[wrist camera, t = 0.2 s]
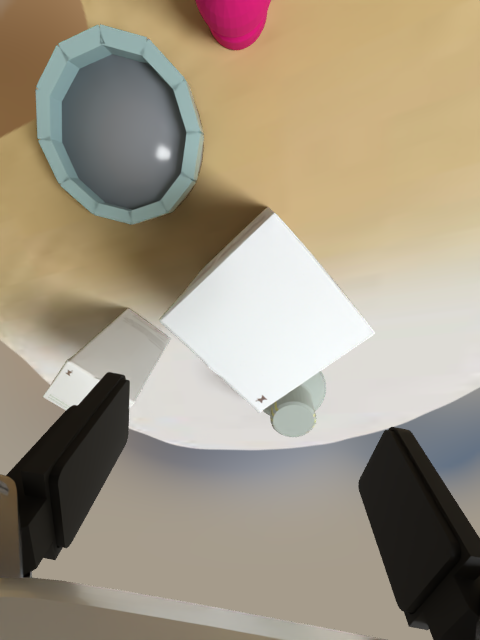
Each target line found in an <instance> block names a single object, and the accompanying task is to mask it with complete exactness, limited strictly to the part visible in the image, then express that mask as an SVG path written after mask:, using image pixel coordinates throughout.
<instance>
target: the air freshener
mask: <svg viewBox="0 0 480 640" xmlns="http://www.w3.org/2000/svg"><path fill="white" fill-rule="evenodd" d="M325 393H326V383H325V379H324V376H323V374H322V373H321V371H320V372H318V373H317V374H315V375H314V376H312V377H311V378H309V379H308V380H307V381H305V382H304V383H302V384H301V385H299V386H298V387H296V388H295V389H293V390H292V391H290V392H289V393H287V394H286V395H284V396H283V397H282V398H280V399H279V400H277V401H276V402H274V403H273V404H271V405H270V406H268V407H267V408H265V409H264V410H263V411H264V412H265V413H266V414H268V415H270V418H271V424H272V426H273V428H274V429H275V430H276V431H277V432H278V433H280V434H282V435H284V436H288V437H299V436H302V435H305V434H307V433H308V432H309V431H310V430H312V429H313V427H314V425H315V423H316V414H315V411H316V410H317V409H318V408H319V407H320V405H321V404H322V402H323V400H324V397H325Z"/></svg>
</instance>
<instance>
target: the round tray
mask: <svg viewBox="0 0 480 640" xmlns="http://www.w3.org/2000/svg"><path fill="white" fill-rule="evenodd" d="M36 87H37V88H38V89H39V90H37V89H36V111H37V137H38V139H41V140H38V141H39V144H40V146H41V148H42V150H43V152H44V154H45V156H46V158H47V160H48V162H49V164H50V166H51V169H52V171H53V173H54V175H55V177H56V179H57V181H58V183H59V184H61V185H60V186H61V187H62V188H63V189H65V190H66V191H67V192H68V193H69V194H70V195H71V196H73V197H74V198H75V199H76V200H77V201H78V202H79V203H81V204H82V205H83V206H84V207H85V208H86V209H87V210H89V211H90V212H91V213H92V214H94V215H96V216H100V217H104V218H108V219H112V220H116V221H120V222H124V223H128V224H138V223H141V222H144V221H147V220H150V219H154V218H158V217H161V216H163V215H166V214H169V213H172V212H173V211H174V210H175V209H176V207H178V206H179V205H180V204H181V203H182V202H183V201H184V200H185V199H186V198H187V196H188V195H189V193H190V192H191V190H192V189H193V187H194V185H195V183H196V181H197V178H198V175H199V173H200V169H201V165H202V160H203V150H204V144H203V141H204V136H203V135H204V133H203V130H202V124H201V120H200V115H199V112H198V109H197V107H196V104H195V102H194V99H193V96H192V92H191V89H190V86H189V85H188V83H187V81H186V80H185V78H184V77H183V76H182V75H181V74H180V73H179V72H178V70H177V69H176V68H175V67H174V66H173V65H172V64H171V63H170V62H169V61H168V59H167V58H166V57H165V56H164V55H163V54H162V53H161V52H160V51H159V50H158V48H157V47H156V46H155V45H154V44H153V43H152V42H151V41H150V40H149V39H147V37H144V36H140V35H137V34H133V33H130V32H126V31H122V30H119V29H115V28H111V27H108V26H104V25H101V24H100V26H99V25H96V26H94V27H92V28H90V29H88V30H86V31H83V32H81V33H79V34H78V35H75V36H73V37H71V38H69V39H67V40H64V41H62V42H60V43H59V46H57V45H56V47H55V50H54V52H53V54H52V56H51V58H50V60H49V62H48V64H47V66H46V68H45V70H44V72H43V74H42V76H41V78H40V80H39V82H38V84H37V86H36Z"/></svg>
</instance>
